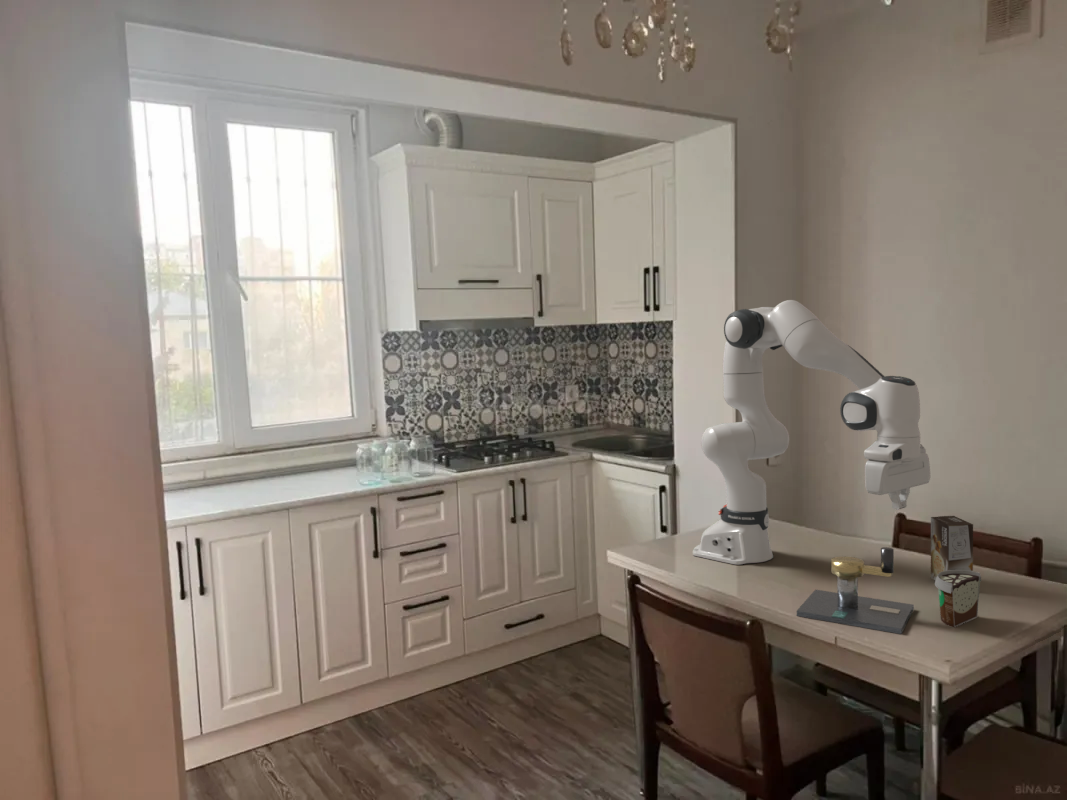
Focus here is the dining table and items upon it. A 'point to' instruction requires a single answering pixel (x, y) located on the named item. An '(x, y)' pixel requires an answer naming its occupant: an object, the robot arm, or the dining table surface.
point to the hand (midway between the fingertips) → (899, 508)
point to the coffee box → (951, 545)
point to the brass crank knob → (856, 566)
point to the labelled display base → (856, 608)
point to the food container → (958, 596)
